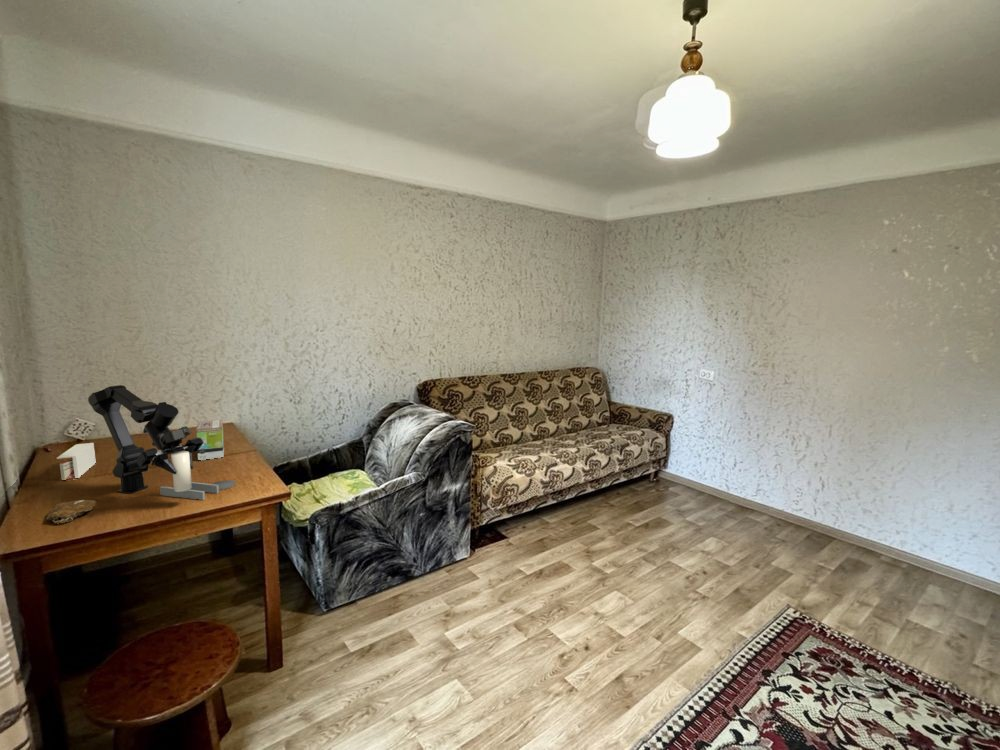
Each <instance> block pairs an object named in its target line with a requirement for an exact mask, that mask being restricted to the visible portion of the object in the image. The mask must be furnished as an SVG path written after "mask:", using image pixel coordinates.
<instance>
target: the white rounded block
mask: <svg viewBox="0 0 1000 750" xmlns="http://www.w3.org/2000/svg"><path fill="white" fill-rule="evenodd" d="M170 459H171V461H170V462H171V463H172V465H173V466H174V468H175V470H176V472H177V473H176V474H173V473H171V474H172V482H173V484H172V485H173V488H174V491H175V492H182V491H187V490H189V489H191V488H192V482H193V481H192V472H191V471H192V469H190V457H189V452H188V451H180V452H175V453H172V454H170Z"/></svg>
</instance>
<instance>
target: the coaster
mask: <svg viewBox="0 0 1000 750" xmlns="http://www.w3.org/2000/svg"><path fill="white" fill-rule="evenodd" d="M211 484H215V485H218V486H219V491H224V490H223V489H225V490H228V489H231V488H233V487H235V486H236V485H235V484H237V482H236V481H235V480H229V479H228V480H220V481H216V482H213V483H211ZM234 485H235V486H234ZM232 486H233V487H232ZM230 487H231V488H230ZM227 488H228V489H227Z"/></svg>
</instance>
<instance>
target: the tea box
mask: <svg viewBox="0 0 1000 750" xmlns="http://www.w3.org/2000/svg"><path fill="white" fill-rule="evenodd" d="M195 432H196V438H197V437H199V438H201V439H202V440H203V442H204V443H203V444H202V446H201V447H200V448H199V450H198V451H196V452H197V461H198V460H201V461H207V460H206V459H210V460H215V459H214V458H218V459H222V458H221V457H223V458H224V455H225V442H224V441H225V440H224V425H223V420H222V419H220V420H219V419H218V420H207V421H206V420H205V421H198V422H197V424H196V431H195Z"/></svg>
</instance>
